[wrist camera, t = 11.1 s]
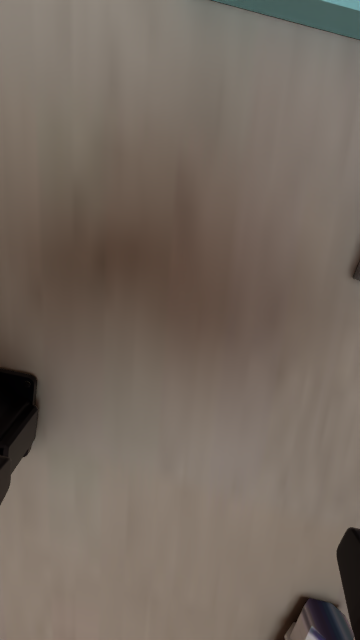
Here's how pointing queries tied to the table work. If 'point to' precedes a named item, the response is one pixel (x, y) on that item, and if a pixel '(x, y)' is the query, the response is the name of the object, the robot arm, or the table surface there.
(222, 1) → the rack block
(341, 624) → the white spray bottle
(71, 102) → the table surface
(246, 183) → the table surface
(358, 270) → the socket block
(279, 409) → the table surface
